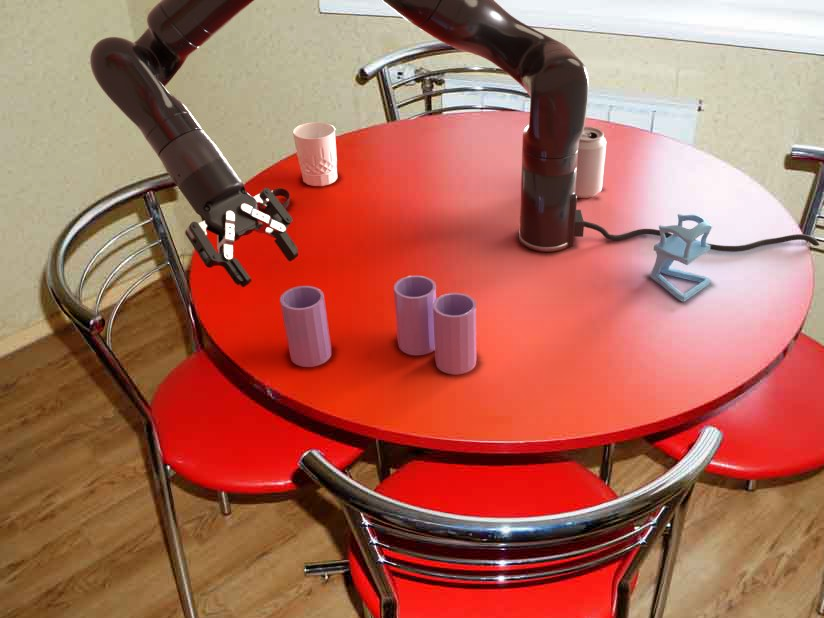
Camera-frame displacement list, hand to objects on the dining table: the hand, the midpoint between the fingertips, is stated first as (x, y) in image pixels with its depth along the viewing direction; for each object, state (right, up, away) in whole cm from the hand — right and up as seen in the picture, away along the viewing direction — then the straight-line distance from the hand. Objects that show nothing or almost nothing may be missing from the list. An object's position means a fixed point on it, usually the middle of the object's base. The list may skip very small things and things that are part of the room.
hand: (271, 271), depth 119 cm
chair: (+61, 0, +21) cm, 64 cm away
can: (+48, +21, +46) cm, 70 cm away
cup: (+26, -13, +4) cm, 29 cm away
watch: (-10, +16, +39) cm, 43 cm away
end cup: (+4, -12, +5) cm, 13 cm away
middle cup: (+20, -10, +8) cm, 23 cm away
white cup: (-3, +24, +49) cm, 54 cm away
